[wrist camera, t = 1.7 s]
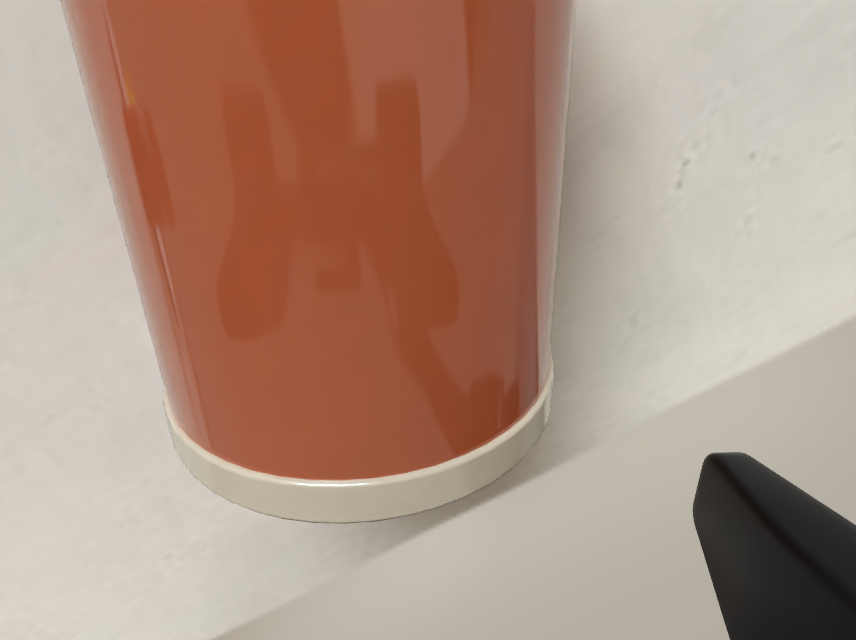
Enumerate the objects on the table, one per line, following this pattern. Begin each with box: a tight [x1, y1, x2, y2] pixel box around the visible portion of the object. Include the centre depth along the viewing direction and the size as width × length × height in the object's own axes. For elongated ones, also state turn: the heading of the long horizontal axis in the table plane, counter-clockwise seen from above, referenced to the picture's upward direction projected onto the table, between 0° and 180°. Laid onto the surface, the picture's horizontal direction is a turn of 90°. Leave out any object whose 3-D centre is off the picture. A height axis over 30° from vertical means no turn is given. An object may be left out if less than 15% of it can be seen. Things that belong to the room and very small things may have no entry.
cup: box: [61, 0, 576, 524], centre depth 11 cm, size 9×7×7 cm
